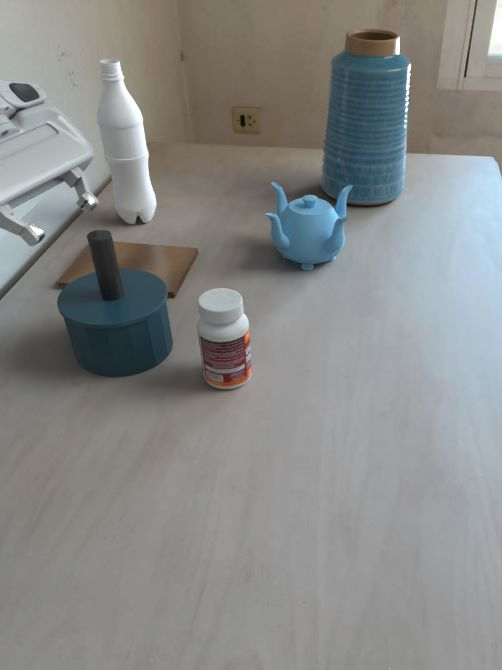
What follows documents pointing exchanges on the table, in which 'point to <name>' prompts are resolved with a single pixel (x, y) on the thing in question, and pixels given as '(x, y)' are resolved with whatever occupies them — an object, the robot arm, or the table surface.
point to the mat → (141, 263)
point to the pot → (123, 346)
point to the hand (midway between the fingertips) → (67, 224)
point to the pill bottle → (224, 339)
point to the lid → (110, 291)
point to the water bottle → (124, 146)
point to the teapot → (308, 228)
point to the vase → (367, 119)
